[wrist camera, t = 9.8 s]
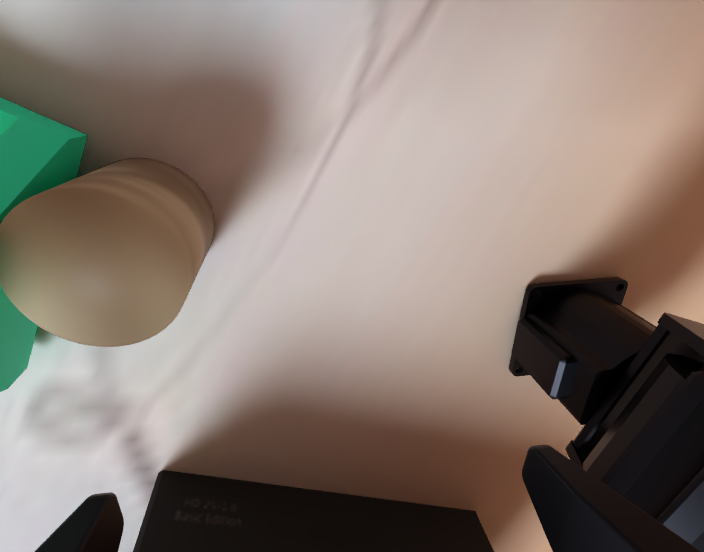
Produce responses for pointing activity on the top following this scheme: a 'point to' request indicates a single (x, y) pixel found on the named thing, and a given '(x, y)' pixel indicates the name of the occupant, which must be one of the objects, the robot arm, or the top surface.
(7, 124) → the green angle bracket
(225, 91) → the top surface
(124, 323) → the round dowel
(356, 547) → the headphone box
